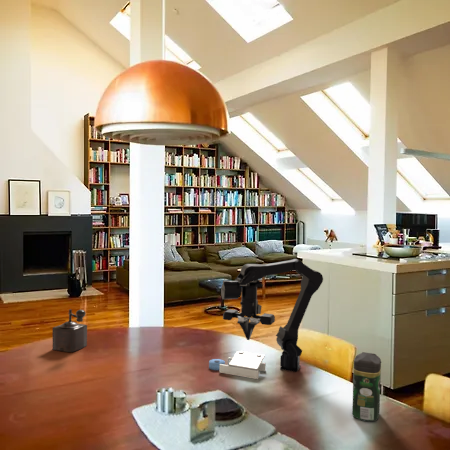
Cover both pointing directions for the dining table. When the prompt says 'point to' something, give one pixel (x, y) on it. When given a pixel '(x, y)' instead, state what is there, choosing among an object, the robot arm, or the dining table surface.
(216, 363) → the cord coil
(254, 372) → the white channel bracket
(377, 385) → the coffee jar
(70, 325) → the manual coffee grinder
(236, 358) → the cover
